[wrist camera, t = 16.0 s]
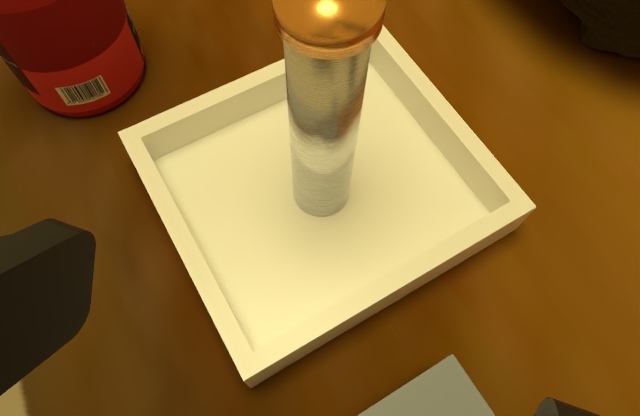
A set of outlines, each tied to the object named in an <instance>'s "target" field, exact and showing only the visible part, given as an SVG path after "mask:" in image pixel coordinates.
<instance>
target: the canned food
mask: <svg viewBox="0 0 640 416" xmlns="http://www.w3.org/2000/svg"><path fill="white" fill-rule="evenodd" d="M0 56H1V58H2V59H3V60H4V61H5V63H6V64H7V65H8V66H9V68H10V69H11V70H12V72H13V73H14V74H15V75H16V77H17V78H18V79H19V80H20V82H21V83H22V84H23V85H24V87H25V88H26V89H27V91H28V92H29V93H30V94H31V96H32V97H33V98H34V99H35V100H36V101H37V102H38V103H40V104H41V105H42V106H44V107H46V108H47V109H49V110H51V111H53V112H55V113H57V114H60V115H65V116H69V117H85V116H92V115H96V114H100V113H103V112H105V111H108V110H110V109H112V108H114V107H116V106H117V105H119V104H121V103H122V102H123V101H125V100H126V99H127V98H128V97H129V96H130V95H131V94H132V93H133V92H134V91H135V89H136V88H137V87H138V85H139V83H140V81H141V79H142V76H143V72H144V52H143V47H142V45H141V42H140V40H139V37H138V35H137V32H136V30H135V27H134V25H133V22H132V20H131V17H130V15H129V13H128V10H127V8H126V5H125V3H124V0H0Z"/></svg>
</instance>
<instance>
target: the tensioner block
mask: <svg viewBox="0 0 640 416" xmlns="http://www.w3.org/2000/svg"><path fill="white" fill-rule="evenodd" d="M358 416H495V415H494V413H493V412H492V411H491V409H490V408H489V406H488V405H487V403H486V402H485V400H484V399H483V397H482V396H481V394H480V393H479V391H478V390H477V389H476V387H475V386H474V384H473V383H472V381H471V380H470V378H469V377H468V375H467V374H466V372H465V371H464V369H463V368H462V366H461V365H460V364H459V362H458V361H457V359H456V358H455V356H454V355H453V354H452V355H450V356H449V357H447V358H446V359H444V360H442V361H441V362H439V363H438V364H436V365H435V366H433V367H432V368H430V369H429V370H427V371H425V372H424V373H422V374H421V375H419V376H418V377H416V378H415V379H413V380H412V381H410V382H409V383H407V384H405V385H404V386H402V387H401V388H399V389H398V390H396V391H395V392H393V393H392V394H390V395H388V396H387V397H385V398H384V399H382V400H381V401H379V402H378V403H376V404H375V405H373V406H371V407H370V408H368V409H367V410H365V411H364V412H362V413H361V414H359V415H358Z"/></svg>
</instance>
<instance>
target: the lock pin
mask: <svg viewBox="0 0 640 416" xmlns="http://www.w3.org/2000/svg"><path fill="white" fill-rule="evenodd" d="M386 3H387V0H272V5H273V17H274V25H275V28H276V31H277V33H278V35H279V36H280V38H281V39H282V40H283V42H284V57H285V73H286V88H287V104H288V119H289V135H290V150H291V166H292V181H293V195H294V199H295V202H296V204H297V205H298V207H299V208H300V209H301V210H302V211H304V212H305V213H307V214H309V215H312V216H316V217H327V216H331V215H334V214H336V213H337V212H339V211H340V210H341V209H342V208H343V207H344V206H345V204H346V203H347V200H348V197H349V191H350V184H351V178H352V171H353V164H354V158H355V151H356V144H357V138H358V131H359V124H360V118H361V111H362V104H363V98H364V91H365V84H366V78H367V71H368V65H369V58H370V51H371V45H372V44H373V43H374V42H375V41H376V39H377V38H378V36H379V34H380V33H381V30H382V26H383V21H384V15H385V9H386Z"/></svg>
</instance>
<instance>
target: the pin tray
mask: <svg viewBox="0 0 640 416" xmlns="http://www.w3.org/2000/svg"><path fill="white" fill-rule="evenodd" d="M118 134H119V136H120V138H121V140H122V142H123V144H124V146H125V148H126V150H127V152H128V154H129V156H130V158H131V160H132V162H133V164H134V165H135V167H136V169H137V171H138V173H139V175H140V177H141V179H142V181H143V183H144V185H145V187H146V189H147V191H148V193H149V195H150V197H151V199H152V201H153V203H154V205H155V207H156V209H157V211H158V213H159V215H160V217H161V219H162V221H163V223H164V225H165V227H166V229H167V231H168V233H169V235H170V237H171V239H172V241H173V243H174V245H175V247H176V248H177V250H178V252H179V254H180V256H181V258H182V260H183V262H184V264H185V266H186V268H187V270H188V272H189V274H190V276H191V278H192V280H193V282H194V284H195V286H196V288H197V290H198V292H199V294H200V296H201V298H202V300H203V302H204V304H205V306H206V308H207V310H208V312H209V314H210V316H211V318H212V320H213V322H214V324H215V326H216V328H217V329H218V331H219V333H220V335H221V337H222V339H223V341H224V343H225V345H226V347H227V349H228V351H229V353H230V355H231V357H232V359H233V361H234V363H235V365H236V367H237V369H238V371H239V373H240V375H241V377H242V379H243V381H244V382H245V383H246V384H247V385H248V386H249V387H250V389H251V388H253V387H254V386H256V385H258V384H259V383H261V382H263V381H264V380H266V379H268V378H269V377H271V376H273V375H274V374H276V373H278V372H279V371H281V370H283V369H284V368H286V367H288V366H289V365H291V364H293V363H294V362H296V361H298V360H299V359H301V358H303V357H304V356H306V355H308V354H309V353H311V352H313V351H314V350H316V349H318V348H319V347H321V346H323V345H324V344H326V343H328V342H329V341H331V340H333V339H334V338H336V337H338V336H339V335H341V334H343V333H344V332H346V331H348V330H349V329H351V328H353V327H354V326H356V325H358V324H359V323H361V322H363V321H364V320H366V319H368V318H369V317H371V316H373V315H374V314H376V313H378V312H379V311H381V310H383V309H384V308H386V307H388V306H389V305H391V304H393V303H394V302H396V301H398V300H399V299H401V298H403V297H404V296H406V295H408V294H409V293H411V292H413V291H414V290H416V289H418V288H419V287H421V286H423V285H424V284H426V283H428V282H429V281H431V280H433V279H434V278H436V277H438V276H439V275H441V274H443V273H444V272H446V271H448V270H449V269H451V268H453V267H454V266H456V265H458V264H459V263H461V262H463V261H464V260H466V259H468V258H469V257H471V256H473V255H474V254H476V253H478V252H479V251H481V250H483V249H484V248H486V247H488V246H489V245H491V244H493V243H494V242H496V241H498V240H499V239H501V238H503V237H504V236H506V235H508V234H509V233H511V232H513V231H514V230H516V229H517V228H518V227H519V226H520V224H521V223H522V222H523V221H524V220H525V219H526V218H527V217H528V216H529V215H530V214H531V212H532V211H533V210H534V209H535V208H536V206H535V204H534V203H533V202H532V201H531V200H530V199H529V197H528V196H527V195H526V194H525V193H524V191H523V190H522V189H521V188H520V187H519V185H518V184H517V183H516V182H515V181H514V180H513V178H512V177H511V176H510V175H509V174H508V172H507V171H506V170H505V169H504V168H503V167H502V165H501V164H500V163H499V162H498V161H497V159H496V158H495V157H494V156H493V155H492V154H491V152H490V151H489V150H488V149H487V148H486V146H485V145H484V144H483V143H482V142H481V141H480V139H479V138H478V137H477V136H476V135H475V133H474V132H473V131H472V130H471V129H470V128H469V126H468V125H467V124H466V123H465V122H464V120H463V119H462V118H461V117H460V116H459V114H458V113H457V112H456V111H455V110H454V109H453V107H452V106H451V105H450V104H449V103H448V101H447V100H446V99H445V98H444V97H443V96H442V94H441V93H440V92H439V91H438V90H437V88H436V87H435V86H434V85H433V84H432V83H431V81H430V80H429V79H428V78H427V77H426V75H425V74H424V73H423V72H422V71H421V70H420V68H419V67H418V66H417V65H416V64H415V62H414V61H413V60H412V59H411V58H410V56H409V55H408V54H407V53H406V52H405V51H404V49H403V48H402V47H401V46H400V45H399V43H398V42H397V41H396V40H395V39H394V38H393V36H392V35H391V34H390V33H389V32H388V30H387V29H386V28H385V27H384V26H382V30H381V33H380V34H379V36H378V38H377V39H376V41H375V42H374V43H373V44H372V45H371V51H370V58H369V65H368V71H367V78H366V84H365V91H364V98H363V104H362V111H361V118H360V124H359V131H358V138H357V144H356V151H355V158H354V164H353V171H352V178H351V184H350V191H349V197H348V200H347V203H346V204H345V206H344V207H343V208H342V209H341V210H340V211H339V212H337V213H336V214H334V215H331V216H327V217H316V216H312V215H309V214H307V213H305V212H304V211H302V210H301V209H300V208H299V207H298V205H297V204H296V202H295V199H294V195H293V181H292V166H291V150H290V135H289V119H288V104H287V88H286V73H285V59H282V60H280V61H278V62H276V63H273V64H271V65H269V66H267V67H264V68H262V69H260V70H258V71H255V72H253V73H251V74H249V75H246V76H244V77H242V78H240V79H237V80H235V81H233V82H230V83H228V84H226V85H224V86H221V87H219V88H217V89H215V90H212V91H210V92H208V93H206V94H203V95H201V96H199V97H197V98H194V99H192V100H190V101H188V102H185V103H183V104H181V105H178V106H176V107H174V108H172V109H169V110H167V111H165V112H163V113H160V114H158V115H156V116H154V117H151V118H149V119H147V120H145V121H142V122H140V123H138V124H136V125H133V126H131V127H129V128H127V129H124V130H122V131H120V132H118Z"/></svg>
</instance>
